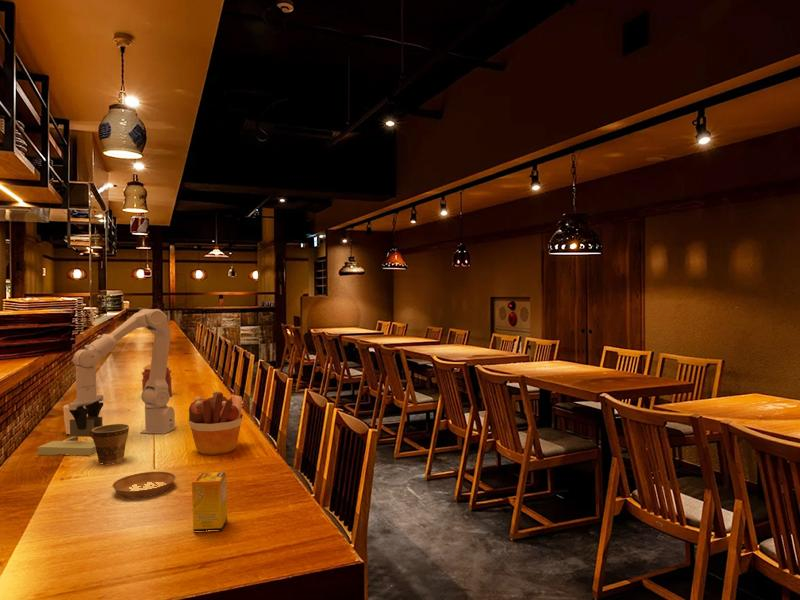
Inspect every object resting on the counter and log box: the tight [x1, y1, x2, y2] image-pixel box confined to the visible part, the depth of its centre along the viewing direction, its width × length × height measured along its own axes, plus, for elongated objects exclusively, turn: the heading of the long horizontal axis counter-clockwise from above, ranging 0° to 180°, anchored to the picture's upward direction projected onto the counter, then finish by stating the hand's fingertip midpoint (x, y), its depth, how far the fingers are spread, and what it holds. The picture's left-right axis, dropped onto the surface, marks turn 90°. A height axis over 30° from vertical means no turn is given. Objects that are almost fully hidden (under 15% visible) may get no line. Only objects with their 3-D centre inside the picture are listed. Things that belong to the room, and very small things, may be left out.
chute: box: [69, 416, 104, 438], centre depth 186 cm, size 8×5×5 cm, turn 83°
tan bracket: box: [37, 436, 97, 456], centre depth 182 cm, size 18×13×3 cm
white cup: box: [62, 403, 88, 435], centre depth 203 cm, size 8×8×10 cm
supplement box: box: [191, 471, 228, 532], centre depth 122 cm, size 6×6×11 cm
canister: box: [141, 363, 173, 397], centre depth 267 cm, size 13×13×18 cm
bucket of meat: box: [188, 390, 243, 456], centre depth 178 cm, size 20×16×20 cm
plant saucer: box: [111, 471, 177, 498], centre depth 145 cm, size 15×15×3 cm
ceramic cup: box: [90, 423, 130, 465], centre depth 169 cm, size 13×10×10 cm
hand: (87, 427), depth 186 cm, fingers closed on chute, 5 cm apart
